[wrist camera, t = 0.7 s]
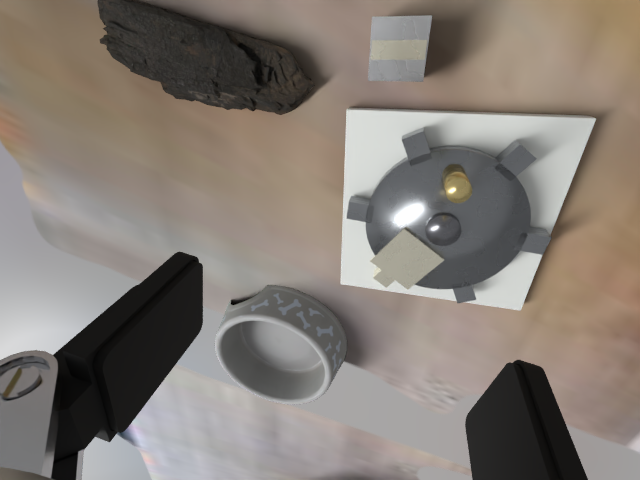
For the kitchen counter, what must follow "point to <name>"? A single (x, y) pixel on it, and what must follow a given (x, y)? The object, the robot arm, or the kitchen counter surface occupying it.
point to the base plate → (468, 131)
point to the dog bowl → (281, 345)
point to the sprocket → (448, 216)
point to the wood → (202, 59)
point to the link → (399, 48)
